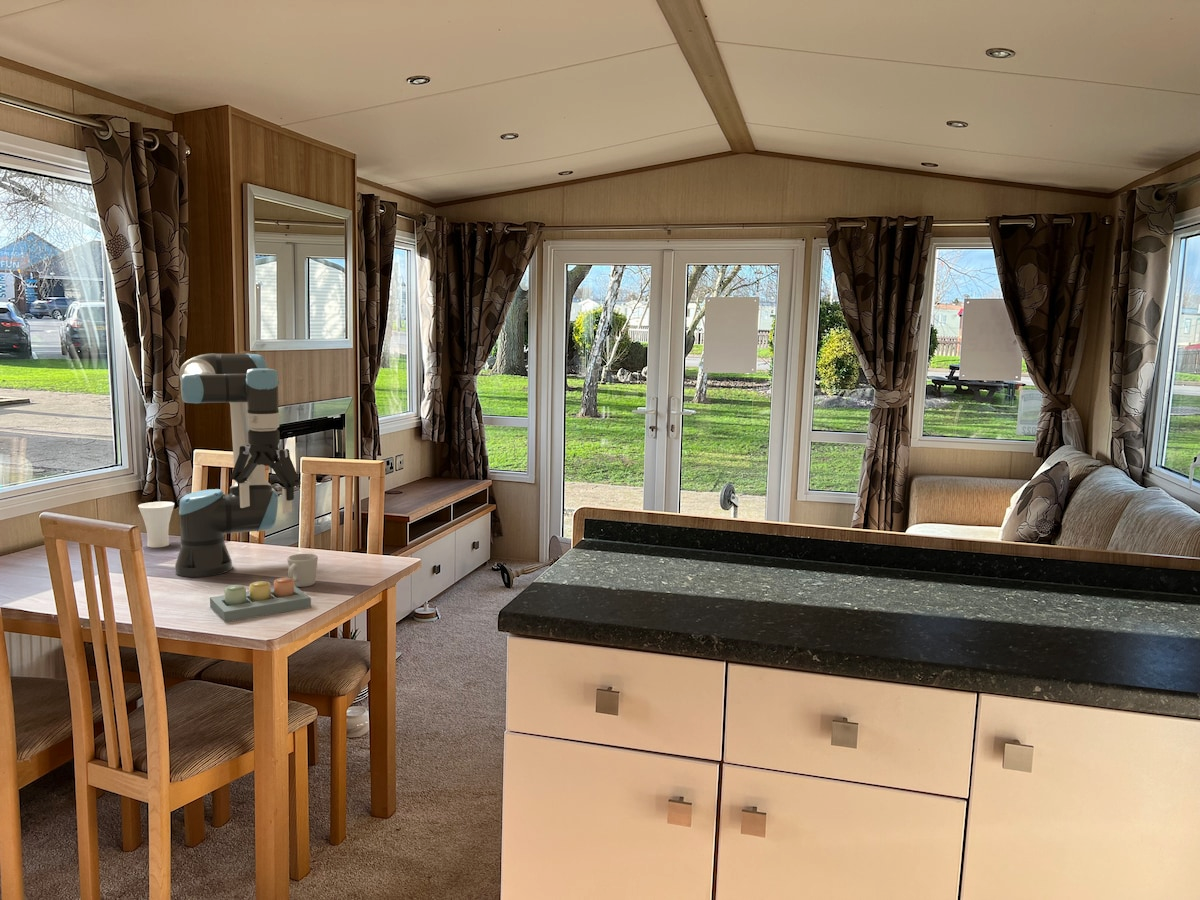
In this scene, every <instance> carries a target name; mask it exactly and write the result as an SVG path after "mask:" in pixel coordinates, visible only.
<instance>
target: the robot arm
mask: <svg viewBox="0 0 1200 900" xmlns="http://www.w3.org/2000/svg"><path fill="white" fill-rule="evenodd" d="M178 371H179V372H178V378H179V380H180V392H181V393H180V394H181V401H182V402H183V403H187V404H196V405H197V404H207V403H209V404H210V403H211V404H212V403H214V404H215V403H217V404H218V403H229V405H230V406H229V407H230V420H231V421H230V422H231V439H232V441H231V442H232V453H233V457H232V458H233V470H232V472H231V475H230V480H232V481H234V483H232V485H231V486H230V487H229V493H226V494H224V492H223V490H222V489H219V488H215V489H213V488H211V489H210V488H209V489H203V490H199V491H198V490H197V491H193V492H190V493H188V494H185V495H184V496H183V495H182V497H181V498H180V500H179V511H178V515H179V523H180V549H179V552H178V554H177V555H178V556H177V558H176V561H175V566H174V567H175V568H174V570H175V574H176V575H178V576H181V577H189V578H191V577H192V578H195V577H196V578H199V577H200V578H201V577H210V576H216V575H220V574H224V573H226V572H230V571H231V570H232V569H233V561H232V558H231V556H230V553H229V550H228V548H227V544H226V542H225V541H226V539H225V535H226V534H236V533H237V534H238V533H249V532H250V533H251V532H257V533H259V532H260V531H261V532H262V531H268V530H272V529H273V528H274V527H275V525H276V522H277V515H278V506H279V505H278V504H279V497H278V496H279V495H278V491H276V490H272V488H273V487H272V484H271V483H270V482H269V481H268V480H267V479H266V466H268V467H269V468H270V469H272V470H273V472H274V473H275V475H276V476H277V478H278V479H279V481H280V482H281V484H282V485H283V488H281V497H282V500H281V501H282V502H281V503H282V504H281V505H282V514H285V515H286V514H290V513H292V512H293V500H294V498H295V496H294V495H295V492H294V491H295V490H294V488H295V487H298V486H300V485H301V481H300V479H299V476H298V473H297V471H296V469H295V466H294V463H293V462H292V460H291V453H290V450H289V448H285V449H284V448H283V449H279V444H280V441H281V439H280V430H279V429H278V428H280V410H279V383H280V381H279V378H278V371H277V370H276V369H275V368H268V365H267V362H266V360H265V357H263V355H261V354H257V353H248V352H246V353H213V352H212V353H204V354H199V355H197V356H193V357H191V358H190V359H187V360H186V361H184V363H183V364H181V366H180V367H179V370H178Z"/></svg>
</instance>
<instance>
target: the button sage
mask: <svg viewBox="0 0 1200 900" xmlns="http://www.w3.org/2000/svg"><path fill="white" fill-rule="evenodd" d="M246 592H247V586H246V585H243V584H233V585H228V586H227V587H225V588H224V595H225V605H227V606H231V605H237V604H243V603H246V602H247V600H246Z"/></svg>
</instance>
